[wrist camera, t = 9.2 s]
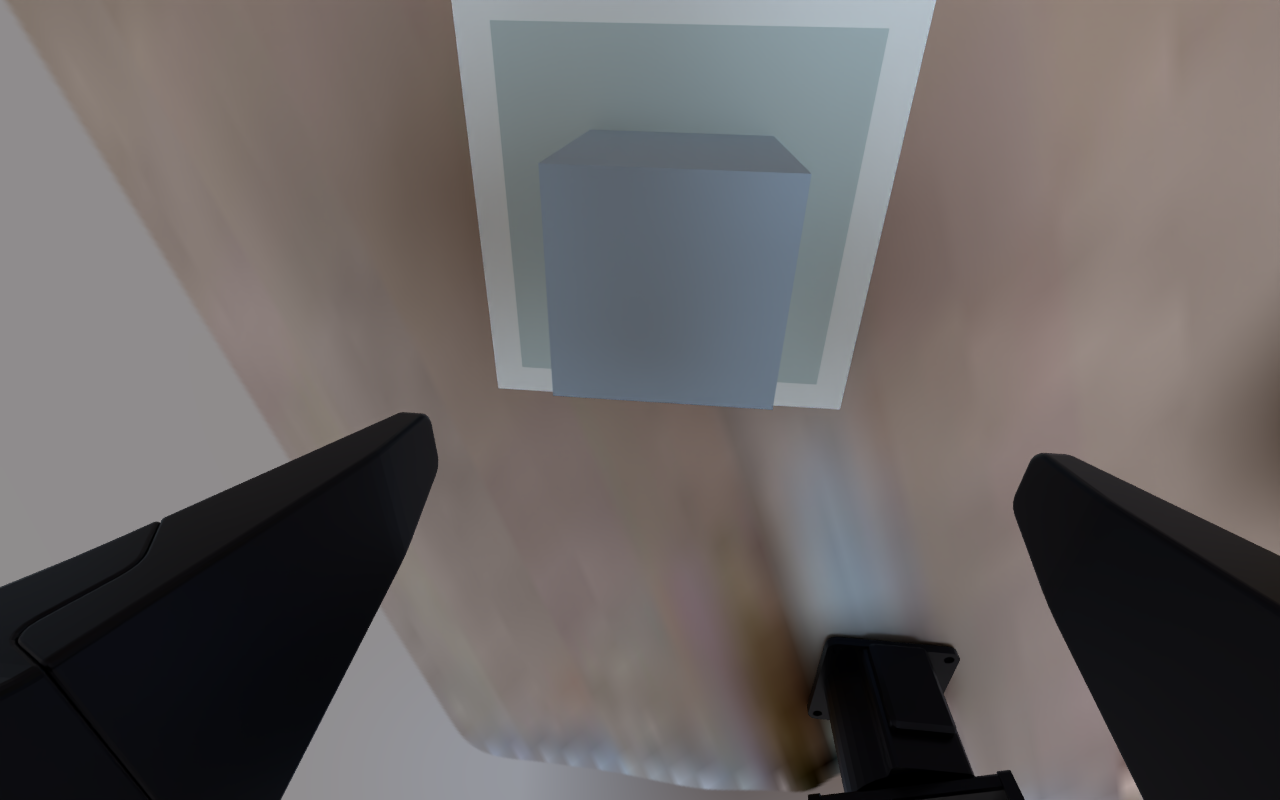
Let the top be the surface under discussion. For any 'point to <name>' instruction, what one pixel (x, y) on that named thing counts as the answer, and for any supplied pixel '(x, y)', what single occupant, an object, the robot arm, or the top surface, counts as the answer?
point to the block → (670, 265)
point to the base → (693, 103)
